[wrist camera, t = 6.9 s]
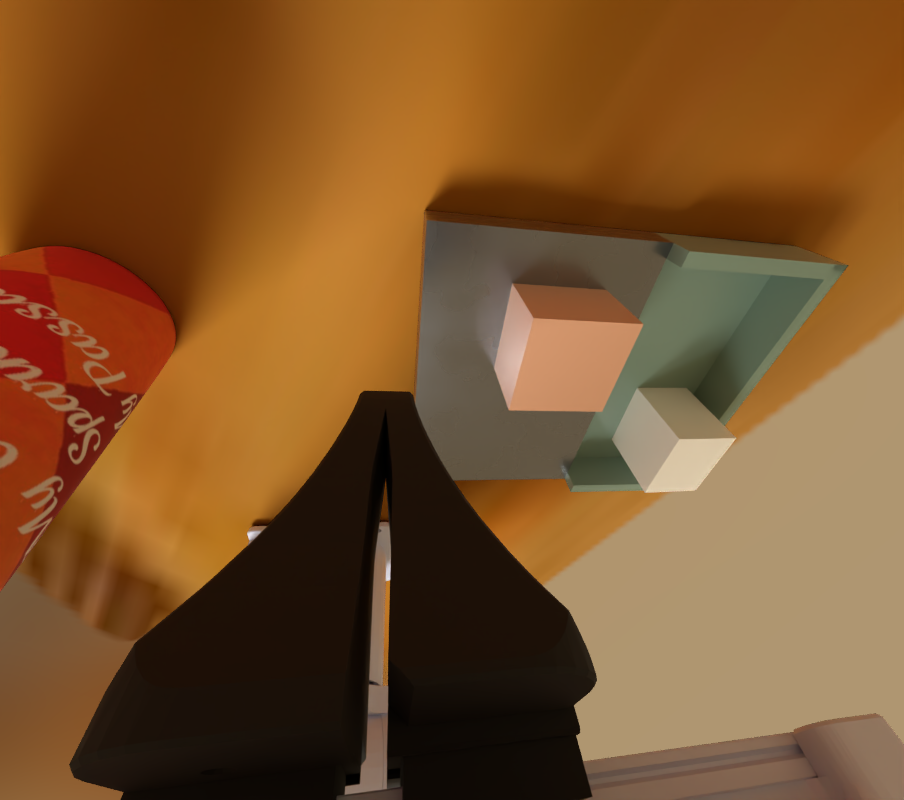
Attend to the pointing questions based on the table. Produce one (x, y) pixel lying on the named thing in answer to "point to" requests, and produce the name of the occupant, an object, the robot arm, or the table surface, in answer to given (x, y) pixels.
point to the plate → (480, 326)
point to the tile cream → (670, 439)
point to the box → (706, 336)
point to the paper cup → (66, 378)
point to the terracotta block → (562, 348)
